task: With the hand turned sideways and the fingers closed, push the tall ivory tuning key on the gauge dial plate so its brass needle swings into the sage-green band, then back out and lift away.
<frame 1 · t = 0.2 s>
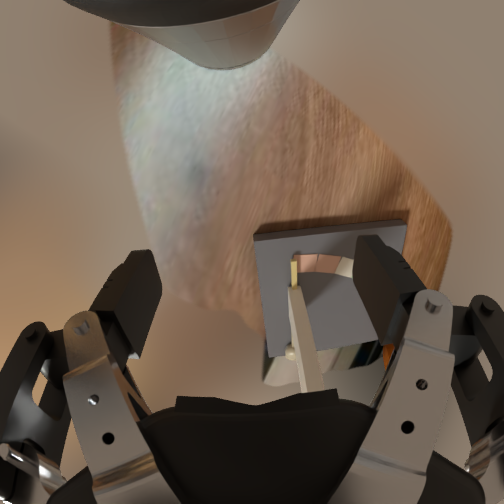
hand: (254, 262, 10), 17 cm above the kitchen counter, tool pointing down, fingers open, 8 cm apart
gauge dial plate: (329, 295, 35), on the kitchen counter
carrot: (385, 339, 42), on the kitchen counter
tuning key: (304, 366, 28), point 10 cm above the kitchen counter, hinge at 0.0°
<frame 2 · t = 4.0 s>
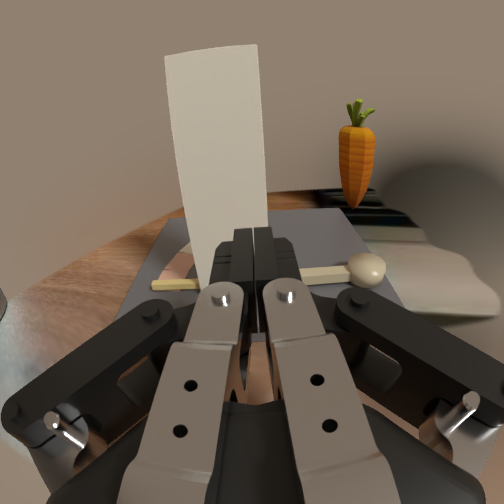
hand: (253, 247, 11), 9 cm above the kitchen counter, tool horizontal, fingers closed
gauge dial plate: (256, 265, 25), on the kitchen counter
carrot: (352, 210, 35), on the kitchen counter
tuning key: (265, 177, 16), point 10 cm above the kitchen counter, hinge at 0.0°
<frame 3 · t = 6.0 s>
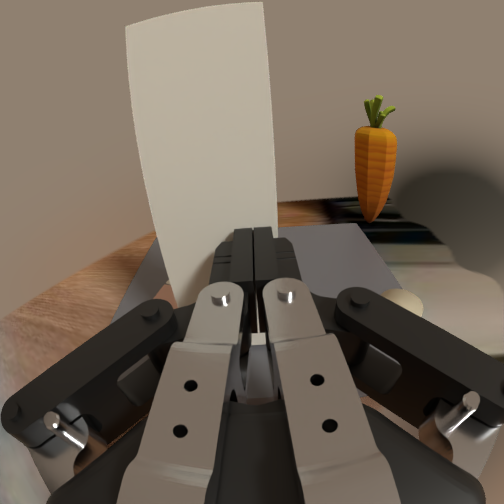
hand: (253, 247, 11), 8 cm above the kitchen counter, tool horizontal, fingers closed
gauge dial plate: (260, 300, 20), on the kitchen counter
carrot: (368, 224, 30), on the kitchen counter
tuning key: (275, 198, 11), point 10 cm above the kitchen counter, hinge at 0.1°, touching gripper
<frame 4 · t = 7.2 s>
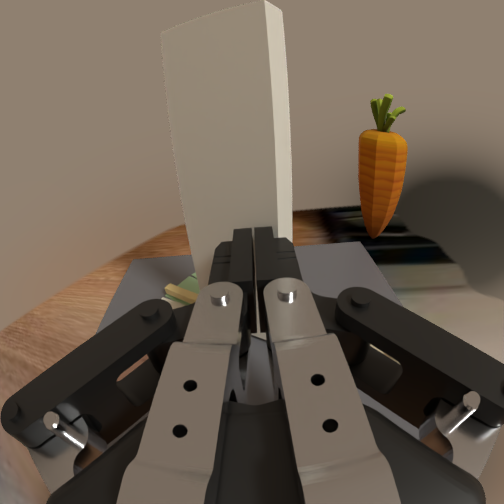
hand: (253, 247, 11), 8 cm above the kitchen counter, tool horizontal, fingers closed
gauge dial plate: (249, 343, 17), on the kitchen counter
carrot: (372, 239, 27), on the kitchen counter
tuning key: (285, 200, 11), point 10 cm above the kitchen counter, hinge at 31.4°, touching gripper
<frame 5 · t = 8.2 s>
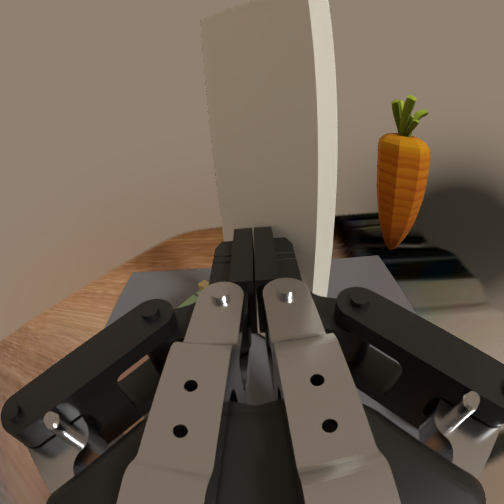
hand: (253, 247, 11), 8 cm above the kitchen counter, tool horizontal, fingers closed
gauge dial plate: (260, 373, 15), on the kitchen counter
carrot: (389, 251, 25), on the kitchen counter
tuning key: (326, 209, 10), point 10 cm above the kitchen counter, hinge at 42.1°, touching gripper
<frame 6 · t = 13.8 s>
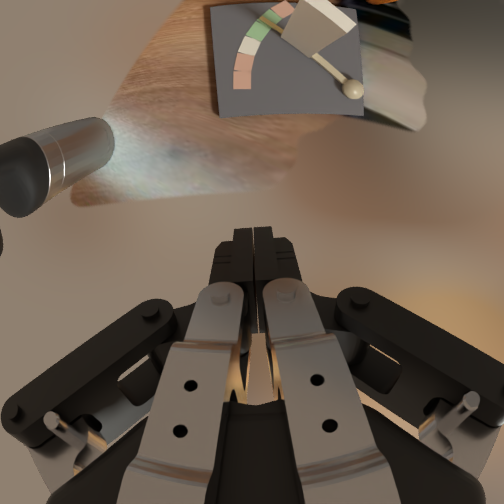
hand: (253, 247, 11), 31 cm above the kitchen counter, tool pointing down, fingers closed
gauge dial plate: (289, 56, 31), on the kitchen counter
carrot: (366, 1, 24), on the kitchen counter
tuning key: (327, 44, 22), point 10 cm above the kitchen counter, hinge at 42.2°
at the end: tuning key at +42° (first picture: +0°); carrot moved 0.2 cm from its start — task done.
